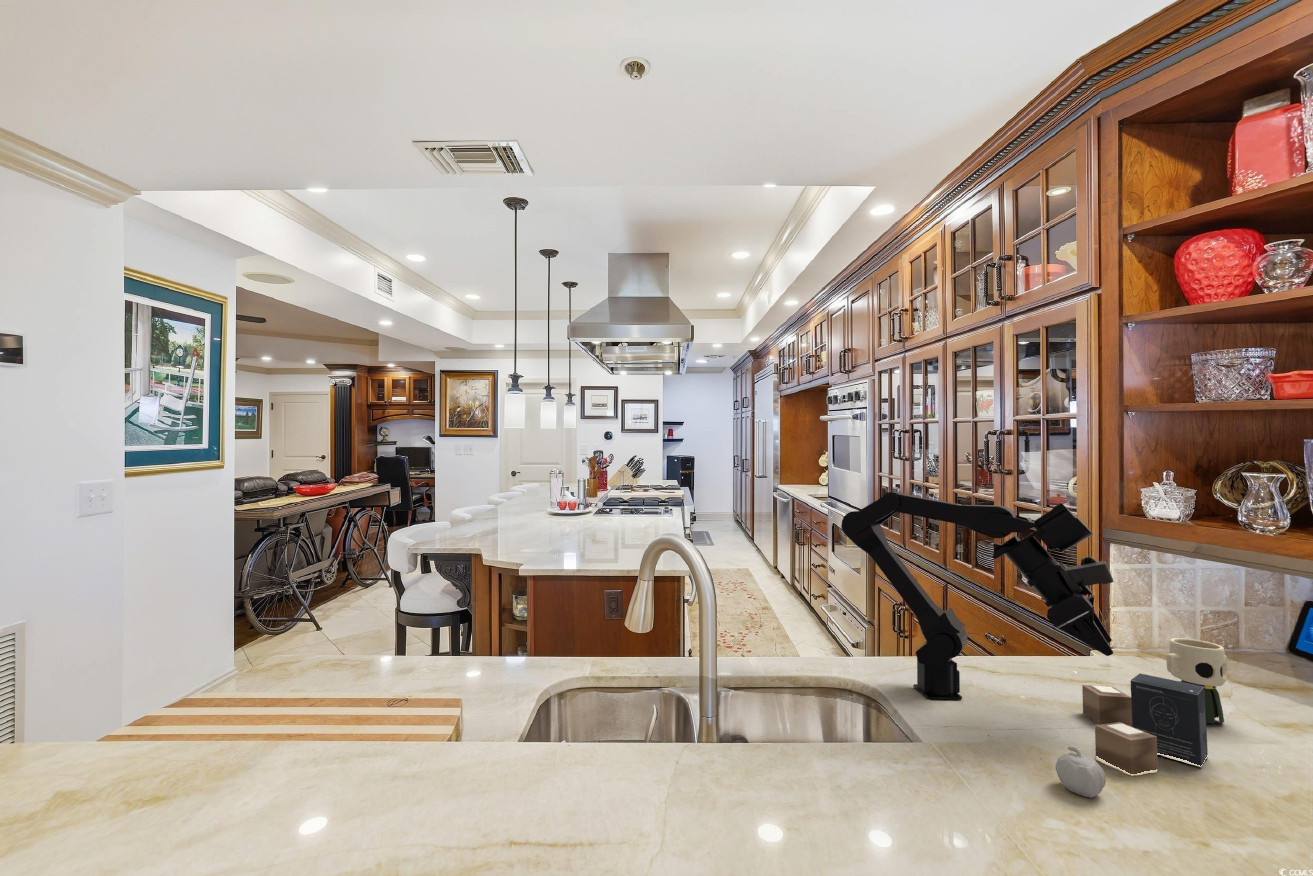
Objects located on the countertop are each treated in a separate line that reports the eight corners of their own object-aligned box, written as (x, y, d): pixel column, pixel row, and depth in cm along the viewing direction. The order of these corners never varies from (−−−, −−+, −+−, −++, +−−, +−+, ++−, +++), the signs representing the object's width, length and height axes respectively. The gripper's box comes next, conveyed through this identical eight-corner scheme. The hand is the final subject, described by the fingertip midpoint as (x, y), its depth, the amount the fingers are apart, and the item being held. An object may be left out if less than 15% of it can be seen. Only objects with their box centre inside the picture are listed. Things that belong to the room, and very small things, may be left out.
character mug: (1190, 728, 97) (1187, 649, 98) (1151, 711, 104) (1148, 637, 105) (1250, 728, 98) (1246, 649, 99) (1207, 711, 105) (1204, 637, 106)
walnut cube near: (1131, 777, 80) (1130, 738, 81) (1095, 760, 85) (1094, 723, 86) (1157, 773, 82) (1156, 734, 82) (1121, 756, 87) (1120, 720, 87)
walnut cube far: (1099, 725, 98) (1098, 693, 98) (1082, 713, 103) (1082, 683, 103) (1132, 728, 97) (1131, 695, 97) (1114, 716, 102) (1113, 685, 102)
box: (1208, 758, 86) (1205, 685, 87) (1201, 770, 83) (1198, 694, 84) (1141, 739, 93) (1138, 671, 93) (1132, 749, 89) (1129, 678, 90)
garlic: (1049, 776, 80) (1048, 737, 81) (1095, 784, 78) (1094, 744, 79) (1063, 799, 75) (1062, 757, 75) (1113, 807, 73) (1112, 765, 73)
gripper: (1080, 545, 91) (1165, 636, 85) (1082, 537, 106) (1154, 613, 100) (1016, 583, 96) (1092, 671, 89) (1026, 570, 111) (1092, 645, 104)
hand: (1109, 648), depth 96 cm, fingers open, 9 cm apart
